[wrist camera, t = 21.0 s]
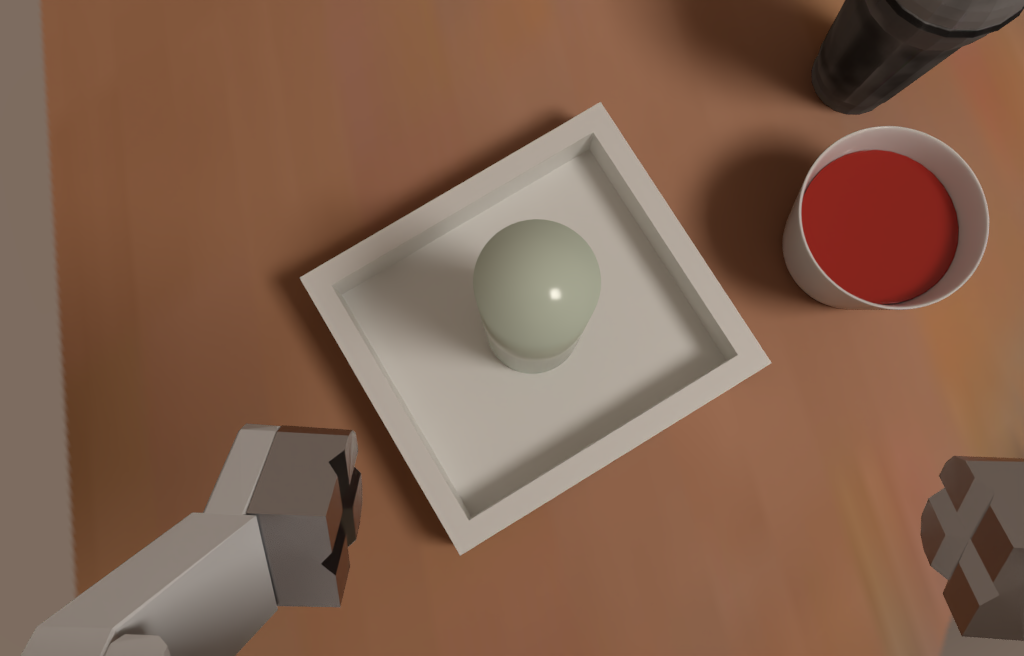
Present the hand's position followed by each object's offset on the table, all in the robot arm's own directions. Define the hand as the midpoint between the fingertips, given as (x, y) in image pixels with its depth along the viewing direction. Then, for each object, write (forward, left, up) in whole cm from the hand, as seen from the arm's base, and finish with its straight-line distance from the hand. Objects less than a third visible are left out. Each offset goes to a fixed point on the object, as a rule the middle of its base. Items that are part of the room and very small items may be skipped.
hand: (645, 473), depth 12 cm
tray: (+3, +6, -33) cm, 34 cm away
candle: (+20, +1, -34) cm, 39 cm away
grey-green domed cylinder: (+3, +6, -32) cm, 33 cm away
